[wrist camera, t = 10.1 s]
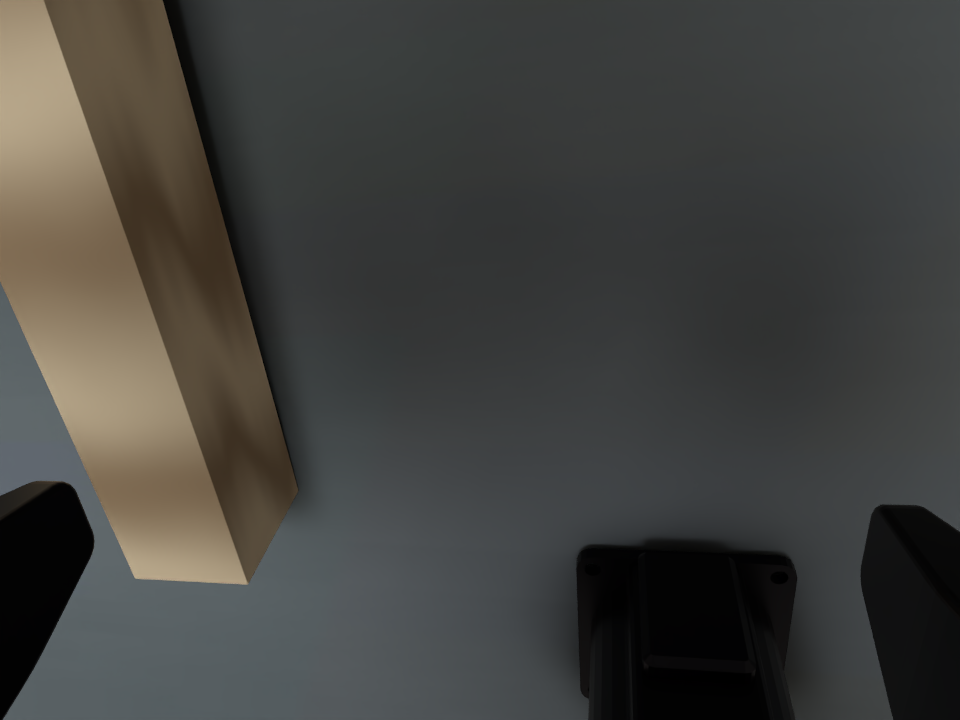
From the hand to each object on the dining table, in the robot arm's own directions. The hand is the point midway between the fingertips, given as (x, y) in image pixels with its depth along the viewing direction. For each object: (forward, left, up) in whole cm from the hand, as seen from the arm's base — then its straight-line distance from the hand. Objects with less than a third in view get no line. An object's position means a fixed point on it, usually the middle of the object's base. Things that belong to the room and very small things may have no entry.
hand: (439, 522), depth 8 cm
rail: (+1, +10, -12) cm, 15 cm away
